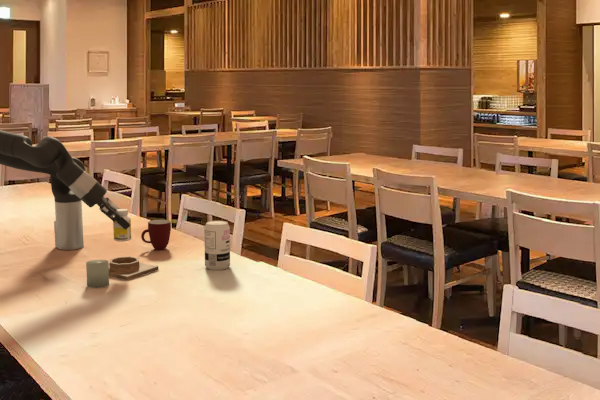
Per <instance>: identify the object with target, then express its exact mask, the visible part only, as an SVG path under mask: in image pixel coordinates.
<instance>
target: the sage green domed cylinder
mask: <svg viewBox="0 0 600 400" xmlns="http://www.w3.org/2000/svg"><path fill="white" fill-rule="evenodd" d="M108 263H109V261H108V260H107V259H91V260H88V261H86V262H85V264H86V265H85V267H86V271H85V272H86V286H87V287H88V288H90V287H91V289H102V288H106V287H108V286H110V277H109V265H108ZM101 287H102V288H101Z"/></svg>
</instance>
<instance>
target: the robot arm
mask: <svg viewBox="0 0 600 400" xmlns="http://www.w3.org/2000/svg"><path fill="white" fill-rule="evenodd" d="M0 165H1V166H5V167H8V168H12V169H16V170H22V171H25V172H26V171H27V172H34V173H40V174H45V175H49V176H50V177H49V178H50V186H51V192H52V195H53V197H54V209H55V212H54V214H55V220H54V222H53V229H54V247H55V248H57V249H58V250H62V251H63V250H64V251H70V250H77V249H81V248H83V247H85V246H84V245H85V244H84V242H85V241H84V225H83V224H84V223H83V205H82V204H83V203H84V204H85V205H87V207H89V208H93V207H94V206H95V205H97V206H98V207H99V209H98V210H100V212H101V213H102V214H104V215H105V216H106V217H108V218H109V219H110V220H111V221H112V222H117V223H118V224H119V225H121V226H122V227H123V228H124V229H125V230H126V229H127V228H128V227H129V226H130V224H129V223H128V222H127V221H126V220H125V219H124V218H123V217H122V216H121V215H120V214H119V213H118V212H117V211H118V210H117V209H121V208H120V207H118V206H117V204H115V203H114V201H112V199H110V198H109V197H105V195H106V193H107V192H108V190H107V188H106V187H104V186H103V185H102V184H101V183H100V182H99V181H98V180H97V179H95V178H94V177H93V175H91V174H90V173H88V172H86V168H85V165H84V163H83V162H82V161H81V160H80V159H79V158H77V157H76V156H72V155H71V154H70V153H69V151H68V150H67V148H66V147H65V145H64V144H63V142H61V141H60V140H59V139H58V138H56V137H53V136H45V137H43V138H42V139H41V140H40V141H39V142H38V143H37V144H36V145H33V141H32V139H31V138H30V137H28V136H26V135H23V134H19V133H14V132H8V131H5V130H1V129H0Z"/></svg>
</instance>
